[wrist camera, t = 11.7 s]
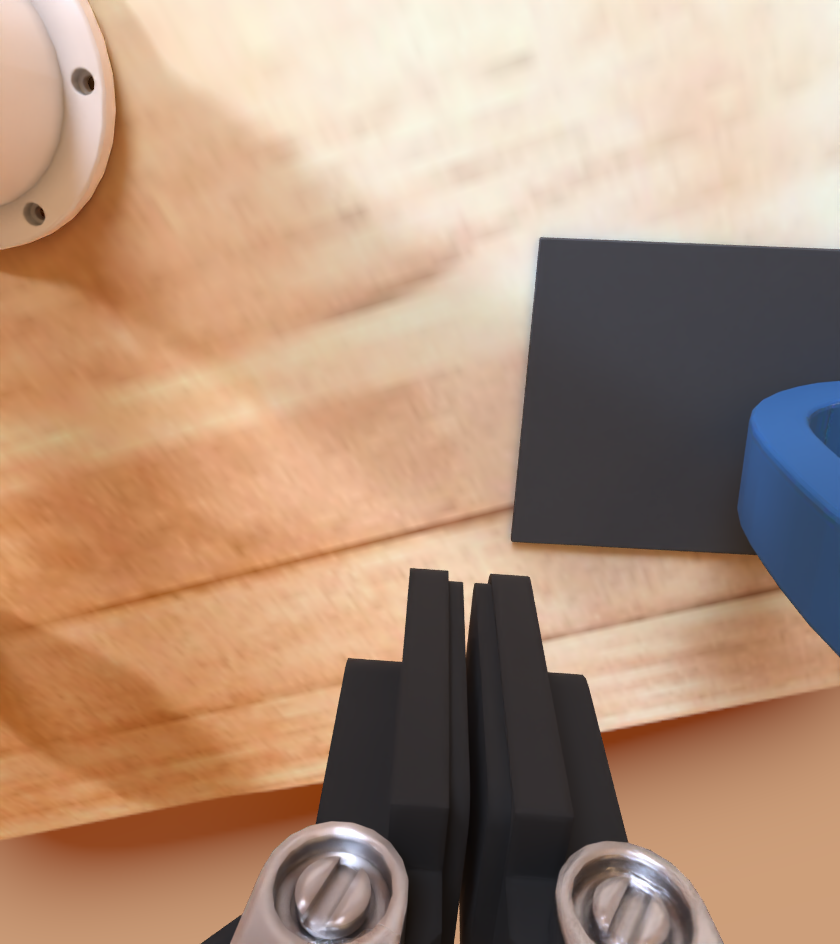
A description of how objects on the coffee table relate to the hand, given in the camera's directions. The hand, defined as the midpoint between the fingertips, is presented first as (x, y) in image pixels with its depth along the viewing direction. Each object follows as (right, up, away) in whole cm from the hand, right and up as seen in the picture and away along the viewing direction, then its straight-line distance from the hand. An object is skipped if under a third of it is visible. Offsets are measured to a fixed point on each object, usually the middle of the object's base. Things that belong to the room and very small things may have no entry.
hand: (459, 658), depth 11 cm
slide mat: (+18, +5, +22) cm, 29 cm away
